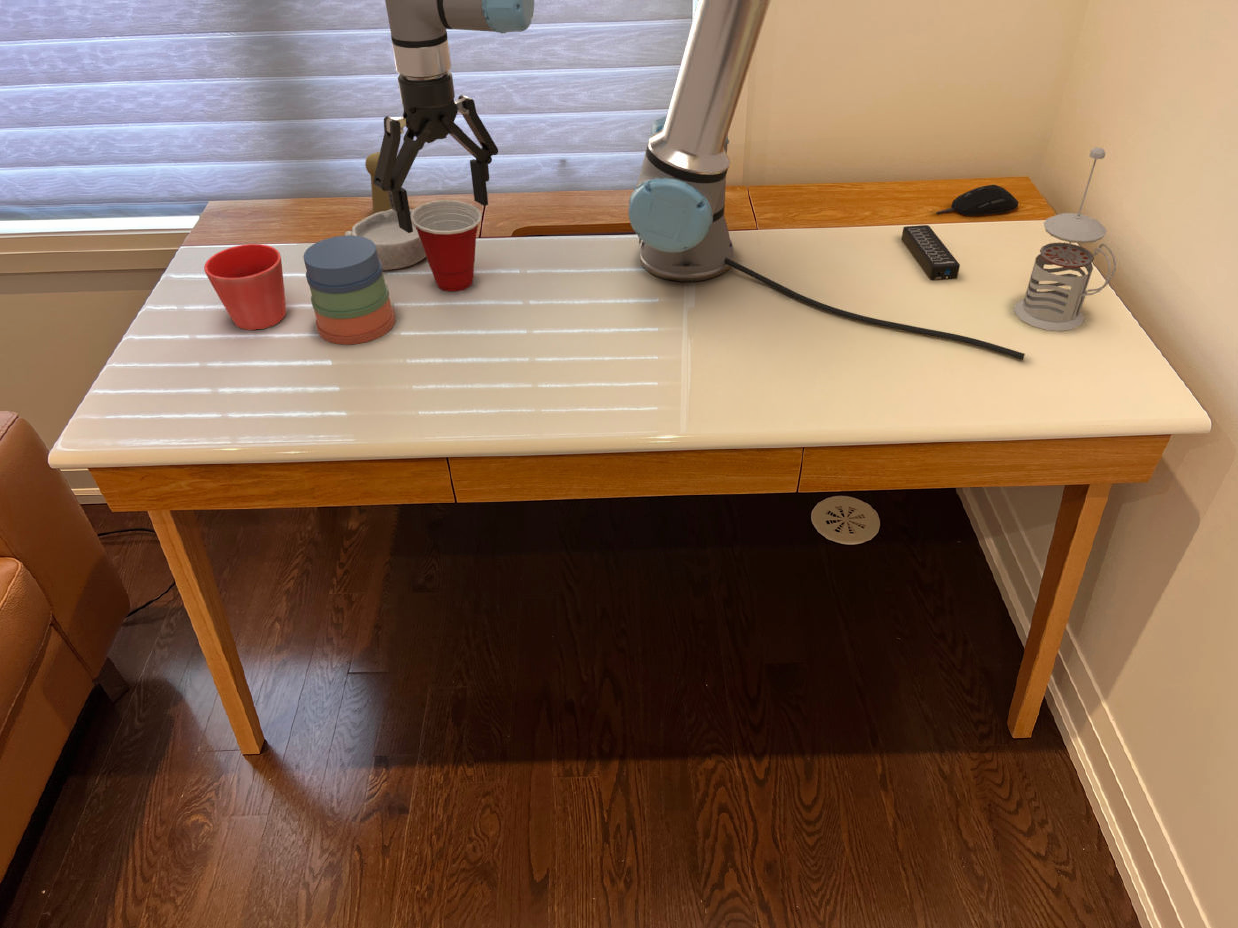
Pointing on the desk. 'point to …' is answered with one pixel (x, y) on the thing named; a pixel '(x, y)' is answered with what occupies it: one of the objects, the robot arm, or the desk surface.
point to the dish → (390, 239)
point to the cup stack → (348, 290)
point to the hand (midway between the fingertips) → (444, 216)
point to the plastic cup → (448, 240)
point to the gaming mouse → (984, 201)
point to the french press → (1064, 304)
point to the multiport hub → (930, 252)
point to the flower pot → (249, 284)
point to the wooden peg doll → (378, 196)
